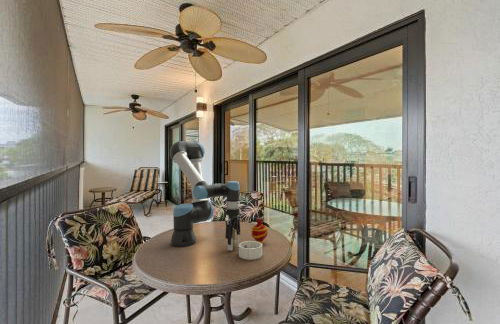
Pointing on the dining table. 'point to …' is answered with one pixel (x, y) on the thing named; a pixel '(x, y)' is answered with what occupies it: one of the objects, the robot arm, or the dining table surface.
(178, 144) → the robot arm
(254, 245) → the white round bowl
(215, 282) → the dining table surface
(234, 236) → the cream rectangular box
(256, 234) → the potion bottle
